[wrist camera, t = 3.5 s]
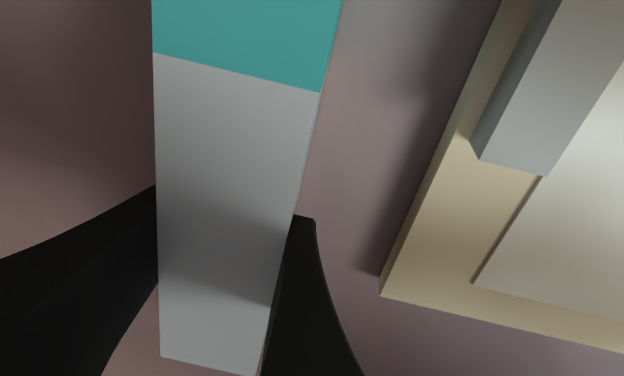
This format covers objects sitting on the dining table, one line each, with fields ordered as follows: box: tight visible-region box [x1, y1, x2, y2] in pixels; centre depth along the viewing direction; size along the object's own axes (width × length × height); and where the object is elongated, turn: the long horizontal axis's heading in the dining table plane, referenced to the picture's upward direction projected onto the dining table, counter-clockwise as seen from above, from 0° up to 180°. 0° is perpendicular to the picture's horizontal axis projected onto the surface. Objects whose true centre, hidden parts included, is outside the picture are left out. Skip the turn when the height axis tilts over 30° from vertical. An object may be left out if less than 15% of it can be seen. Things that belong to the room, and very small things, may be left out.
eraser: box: [151, 0, 344, 376], centre depth 11 cm, size 14×3×3 cm, turn 168°
